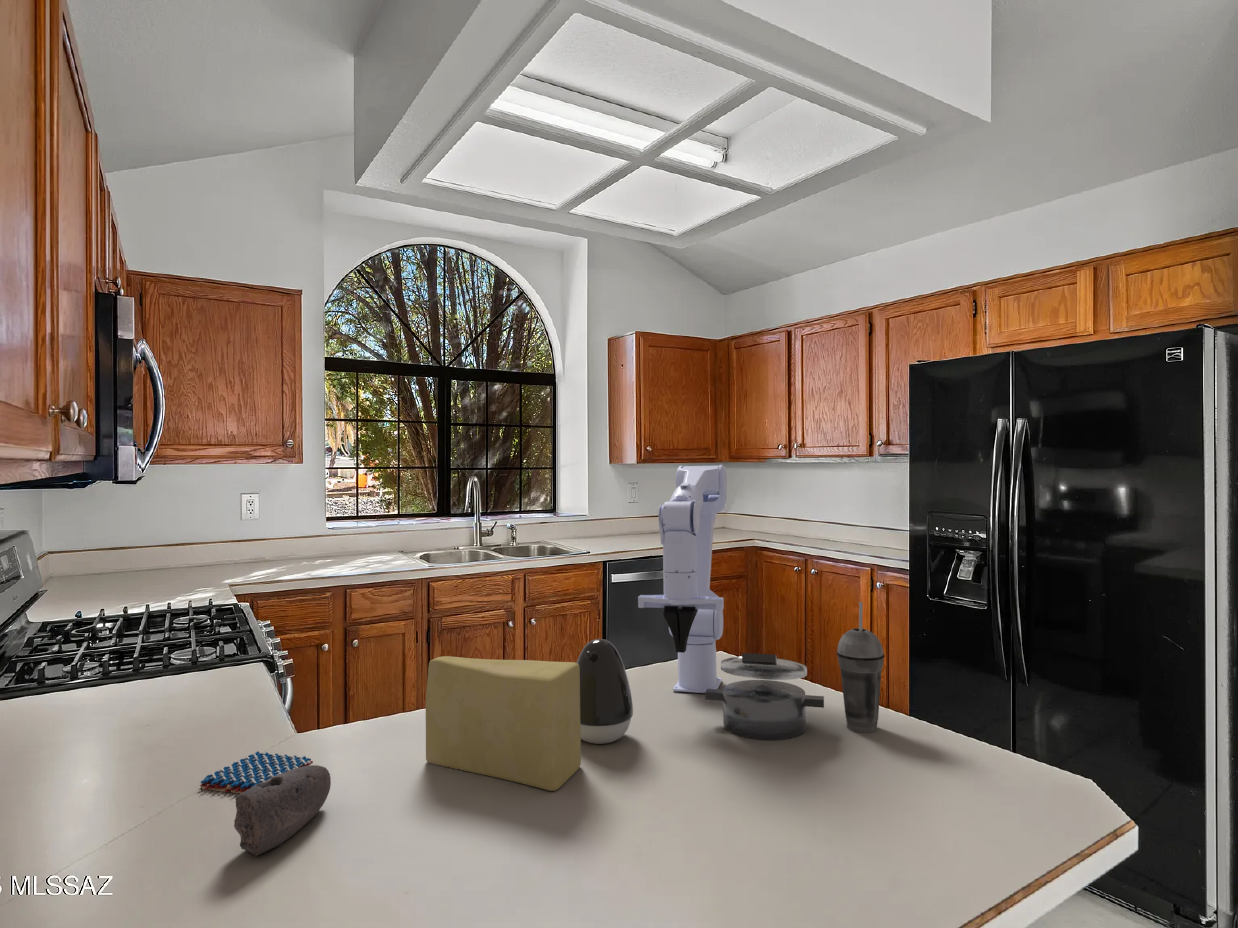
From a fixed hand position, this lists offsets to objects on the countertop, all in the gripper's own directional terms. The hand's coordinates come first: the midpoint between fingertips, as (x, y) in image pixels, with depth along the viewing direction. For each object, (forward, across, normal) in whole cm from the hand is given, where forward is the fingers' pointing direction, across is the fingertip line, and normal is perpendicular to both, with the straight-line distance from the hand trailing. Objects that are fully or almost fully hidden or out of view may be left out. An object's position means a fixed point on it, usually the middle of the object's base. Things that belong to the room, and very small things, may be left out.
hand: (681, 651), depth 122 cm
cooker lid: (+2, +14, -4) cm, 15 cm away
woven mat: (+12, -51, -40) cm, 66 cm away
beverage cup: (+11, +29, -1) cm, 31 cm away
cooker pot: (+10, +14, -3) cm, 18 cm away
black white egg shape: (+11, -10, -15) cm, 21 cm away
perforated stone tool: (+11, -36, -52) cm, 64 cm away
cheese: (+11, -20, -30) cm, 38 cm away
